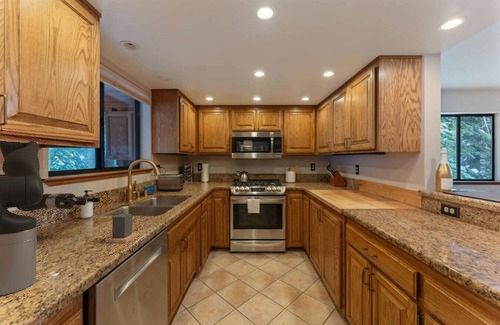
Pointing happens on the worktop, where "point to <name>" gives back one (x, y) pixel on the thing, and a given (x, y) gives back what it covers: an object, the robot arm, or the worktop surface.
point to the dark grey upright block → (122, 226)
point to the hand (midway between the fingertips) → (92, 201)
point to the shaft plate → (121, 239)
